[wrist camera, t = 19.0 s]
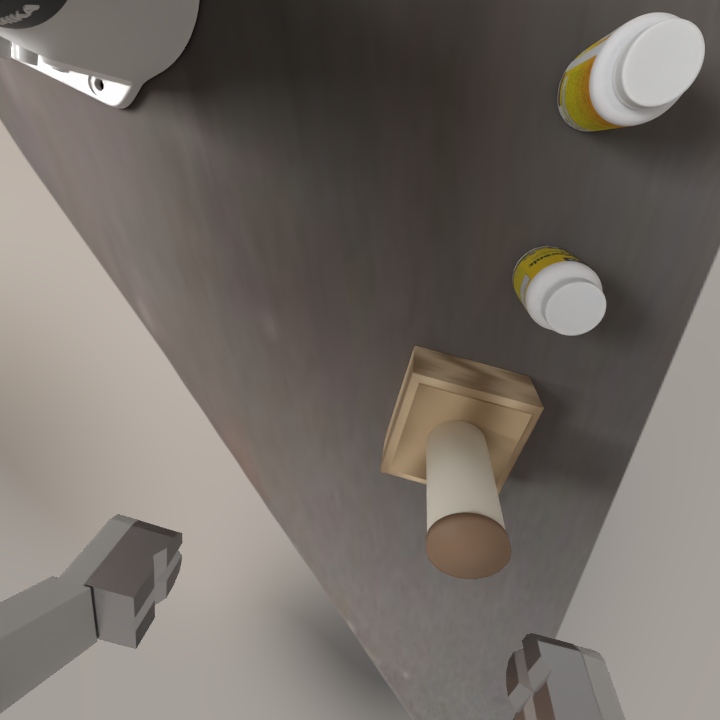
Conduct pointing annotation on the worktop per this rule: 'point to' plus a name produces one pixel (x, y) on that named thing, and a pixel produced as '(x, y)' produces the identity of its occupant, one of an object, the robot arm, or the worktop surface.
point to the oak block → (459, 411)
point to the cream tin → (463, 504)
